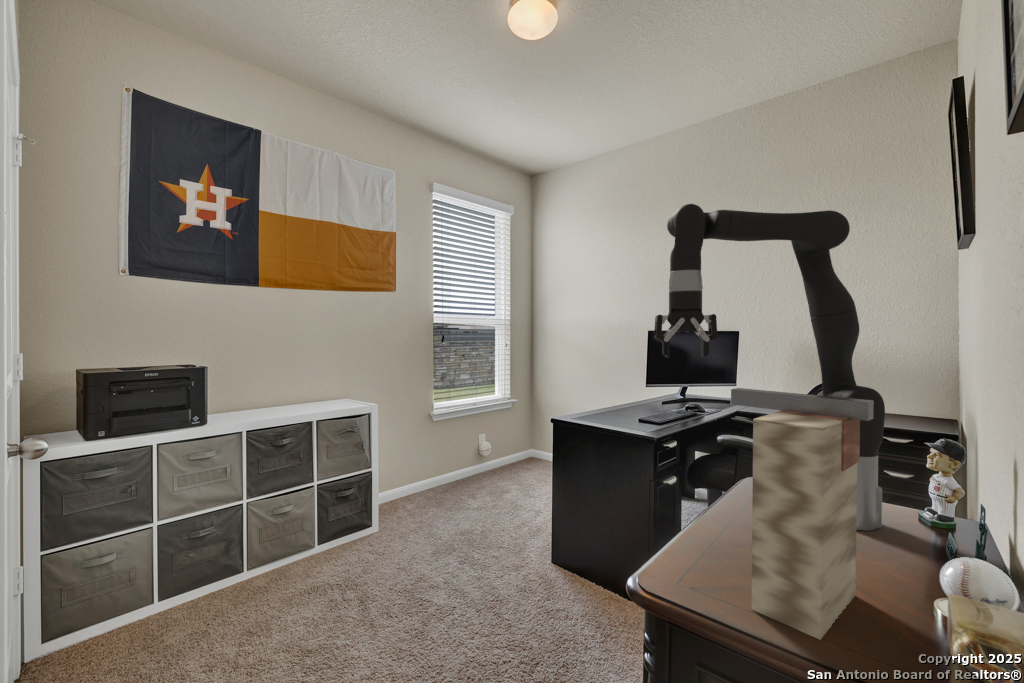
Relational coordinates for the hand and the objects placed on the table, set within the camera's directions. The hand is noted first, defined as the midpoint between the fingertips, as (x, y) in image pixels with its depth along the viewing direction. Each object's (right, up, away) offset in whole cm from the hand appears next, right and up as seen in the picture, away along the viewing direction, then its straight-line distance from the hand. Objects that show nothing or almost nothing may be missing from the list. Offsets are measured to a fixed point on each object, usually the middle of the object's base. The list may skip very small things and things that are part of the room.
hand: (685, 357), depth 112 cm
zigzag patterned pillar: (+8, -41, -33) cm, 53 cm away
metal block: (+9, -9, -28) cm, 31 cm away
